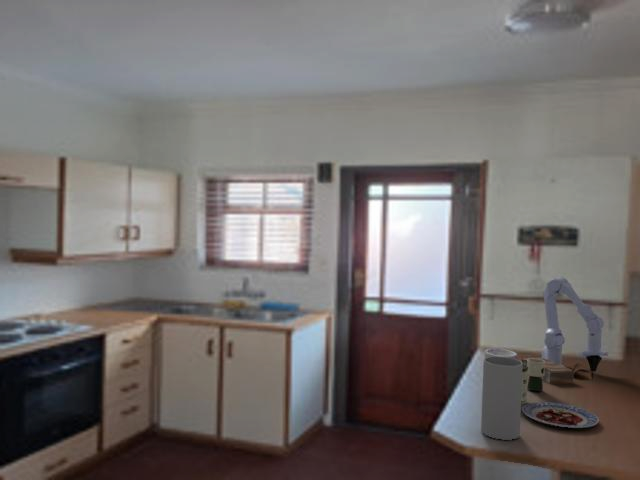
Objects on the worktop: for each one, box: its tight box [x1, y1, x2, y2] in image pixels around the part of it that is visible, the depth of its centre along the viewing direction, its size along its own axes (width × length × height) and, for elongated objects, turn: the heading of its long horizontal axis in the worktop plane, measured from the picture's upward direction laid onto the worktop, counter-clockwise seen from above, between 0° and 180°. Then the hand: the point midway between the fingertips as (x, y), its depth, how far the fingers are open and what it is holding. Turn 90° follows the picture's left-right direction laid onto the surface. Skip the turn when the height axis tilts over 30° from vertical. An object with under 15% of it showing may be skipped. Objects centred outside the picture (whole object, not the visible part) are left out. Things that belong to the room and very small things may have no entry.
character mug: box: [527, 357, 545, 392], centre depth 241 cm, size 11×7×13 cm, turn 157°
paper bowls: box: [484, 348, 518, 360], centre depth 276 cm, size 15×15×8 cm
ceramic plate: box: [522, 401, 600, 429], centre depth 207 cm, size 26×26×3 cm
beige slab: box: [521, 357, 574, 385], centre depth 263 cm, size 22×11×6 cm, turn 14°
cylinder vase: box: [480, 357, 523, 441], centre depth 191 cm, size 12×12×25 cm
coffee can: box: [521, 365, 528, 405], centre depth 227 cm, size 10×10×14 cm
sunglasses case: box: [573, 362, 593, 381], centre depth 268 cm, size 18×7×7 cm, turn 155°
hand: (593, 371), depth 269 cm, fingers closed
